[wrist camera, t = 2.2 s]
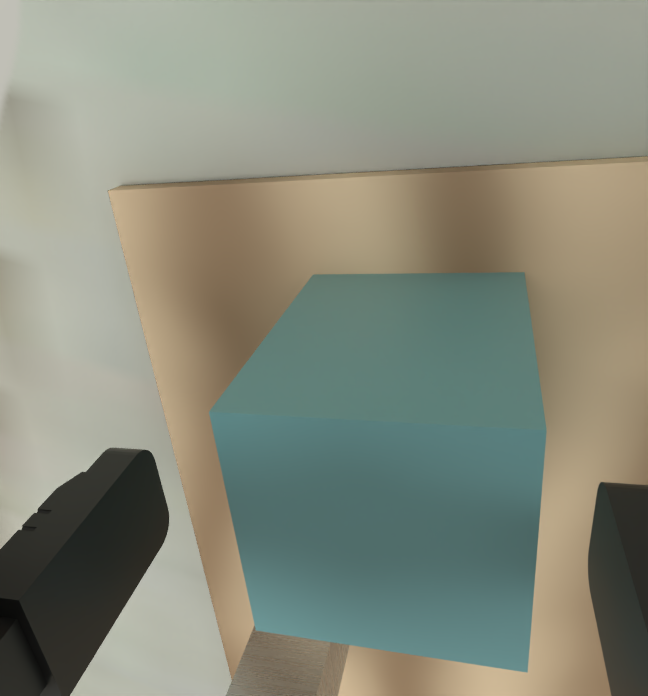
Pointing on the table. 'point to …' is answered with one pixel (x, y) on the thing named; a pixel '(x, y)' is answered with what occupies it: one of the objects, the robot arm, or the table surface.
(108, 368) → the table surface
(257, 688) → the grey post
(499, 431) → the aqua square block
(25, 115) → the table surface
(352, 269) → the oak board
